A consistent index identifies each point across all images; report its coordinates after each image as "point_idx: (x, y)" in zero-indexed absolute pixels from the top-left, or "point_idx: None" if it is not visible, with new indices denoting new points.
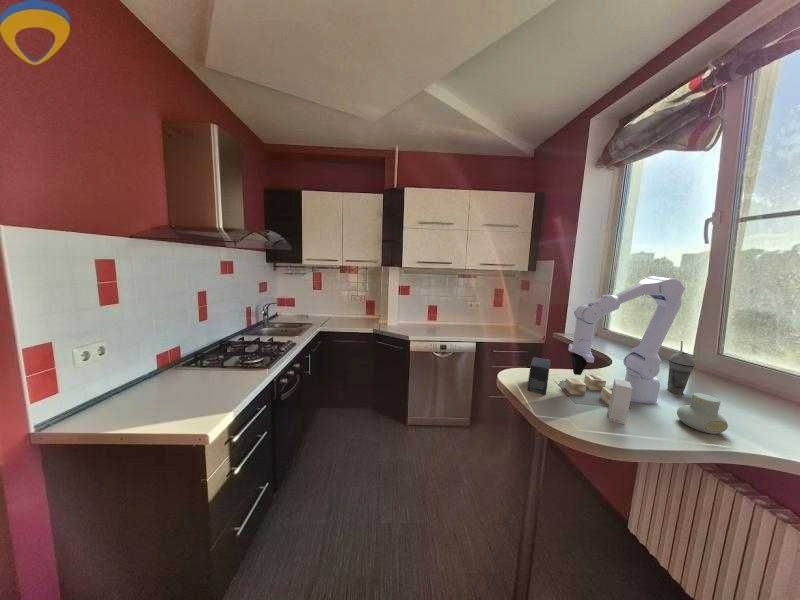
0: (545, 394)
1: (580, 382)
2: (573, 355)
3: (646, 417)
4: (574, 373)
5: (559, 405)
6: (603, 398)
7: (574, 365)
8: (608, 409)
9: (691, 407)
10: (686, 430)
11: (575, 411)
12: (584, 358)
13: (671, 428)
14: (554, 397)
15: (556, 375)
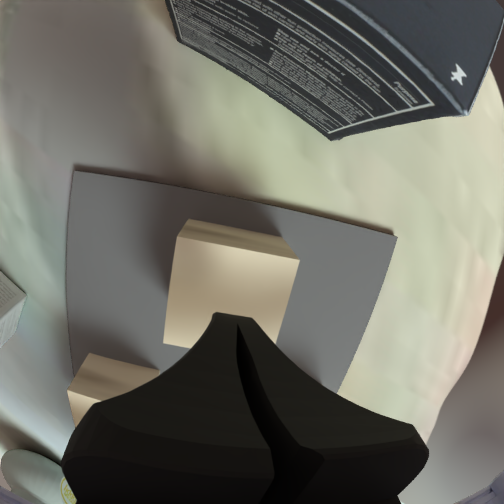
0: (176, 35)
1: (206, 327)
2: (249, 489)
3: (45, 407)
4: (225, 315)
5: (72, 74)
6: (131, 369)
7: (221, 358)
8: (11, 297)
9: (30, 494)
10: (19, 434)
11: (21, 133)
12: (18, 501)
13: (11, 412)
14: (157, 87)
15: (437, 300)
